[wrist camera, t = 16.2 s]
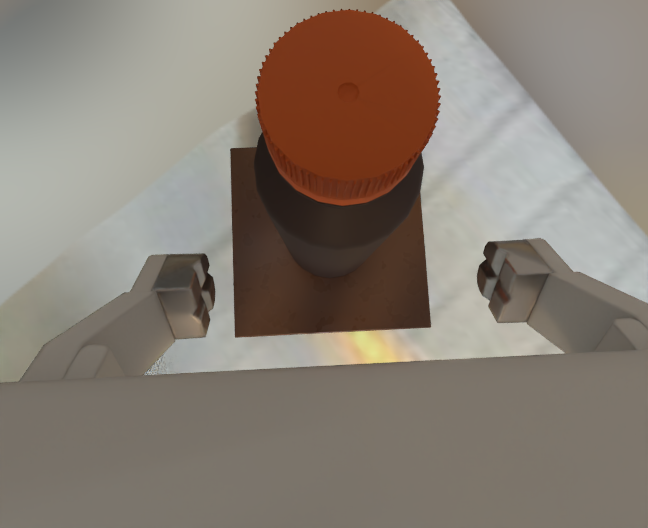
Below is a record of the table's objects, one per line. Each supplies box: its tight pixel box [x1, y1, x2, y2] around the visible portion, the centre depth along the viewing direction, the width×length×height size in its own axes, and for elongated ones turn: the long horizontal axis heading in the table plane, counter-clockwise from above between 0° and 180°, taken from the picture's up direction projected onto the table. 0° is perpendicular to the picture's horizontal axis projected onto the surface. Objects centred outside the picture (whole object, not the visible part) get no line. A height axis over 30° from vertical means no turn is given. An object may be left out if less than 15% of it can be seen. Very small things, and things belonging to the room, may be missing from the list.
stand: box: [230, 147, 431, 337], centre depth 33 cm, size 15×15×6 cm
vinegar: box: [254, 9, 441, 278], centre depth 20 cm, size 7×7×20 cm
